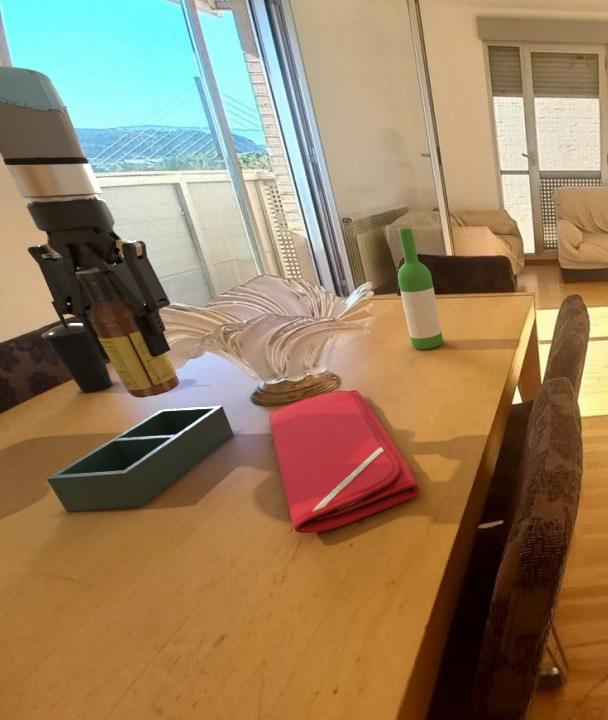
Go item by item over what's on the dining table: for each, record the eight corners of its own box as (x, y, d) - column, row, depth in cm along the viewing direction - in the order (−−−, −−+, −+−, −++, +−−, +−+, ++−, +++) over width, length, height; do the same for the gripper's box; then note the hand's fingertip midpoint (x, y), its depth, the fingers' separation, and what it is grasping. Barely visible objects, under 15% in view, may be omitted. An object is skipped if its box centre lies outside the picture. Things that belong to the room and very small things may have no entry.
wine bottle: (442, 338, 130) (421, 225, 118) (444, 347, 123) (423, 229, 111) (412, 343, 127) (387, 228, 115) (413, 352, 120) (387, 232, 109)
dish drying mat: (361, 396, 98) (357, 380, 97) (424, 495, 68) (419, 473, 67) (270, 422, 89) (264, 404, 88) (297, 547, 60) (288, 524, 58)
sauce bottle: (179, 378, 80) (130, 262, 73) (182, 390, 76) (130, 267, 68) (126, 391, 76) (67, 269, 68) (126, 404, 72) (64, 275, 64)
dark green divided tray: (66, 512, 67) (45, 478, 65) (174, 437, 85) (161, 409, 83) (142, 506, 68) (125, 473, 66) (233, 433, 86) (222, 405, 83)
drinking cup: (102, 379, 110) (60, 296, 102) (130, 380, 109) (90, 296, 101) (62, 394, 103) (14, 306, 95) (92, 396, 102) (45, 306, 94)
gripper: (161, 194, 69) (219, 342, 78) (19, 199, 67) (94, 349, 77) (115, 198, 62) (184, 360, 71) (-44, 203, 61) (46, 368, 70)
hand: (137, 354), depth 74 cm, fingers closed on sauce bottle, 6 cm apart
